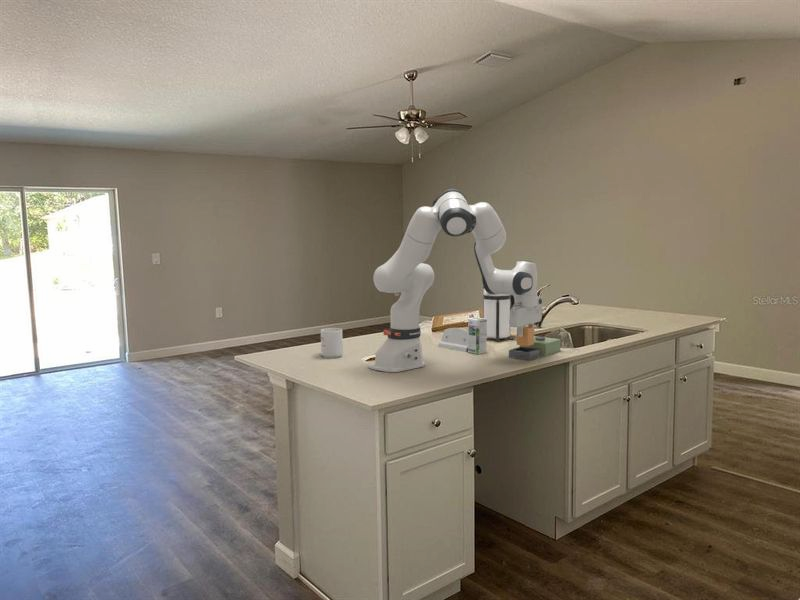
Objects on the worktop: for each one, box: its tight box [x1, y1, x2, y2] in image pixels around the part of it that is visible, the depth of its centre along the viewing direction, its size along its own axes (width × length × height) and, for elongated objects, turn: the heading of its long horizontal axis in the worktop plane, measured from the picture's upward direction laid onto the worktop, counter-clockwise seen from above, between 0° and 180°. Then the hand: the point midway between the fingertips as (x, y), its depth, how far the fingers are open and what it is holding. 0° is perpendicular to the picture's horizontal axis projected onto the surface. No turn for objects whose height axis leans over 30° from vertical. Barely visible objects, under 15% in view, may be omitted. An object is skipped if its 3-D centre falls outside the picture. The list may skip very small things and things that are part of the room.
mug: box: [320, 327, 344, 359], centre depth 250 cm, size 12×9×11 cm
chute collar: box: [508, 345, 541, 361], centre depth 244 cm, size 9×9×3 cm
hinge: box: [437, 327, 468, 353], centre depth 263 cm, size 17×5×10 cm, turn 43°
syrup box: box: [467, 317, 488, 355], centre depth 253 cm, size 6×6×14 cm
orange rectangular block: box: [516, 326, 535, 346], centre depth 242 cm, size 5×5×7 cm
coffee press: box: [482, 286, 515, 343], centre depth 281 cm, size 17×16×30 cm
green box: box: [519, 335, 561, 357], centre depth 253 cm, size 13×12×6 cm
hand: (525, 335), depth 242 cm, fingers closed on orange rectangular block, 5 cm apart
